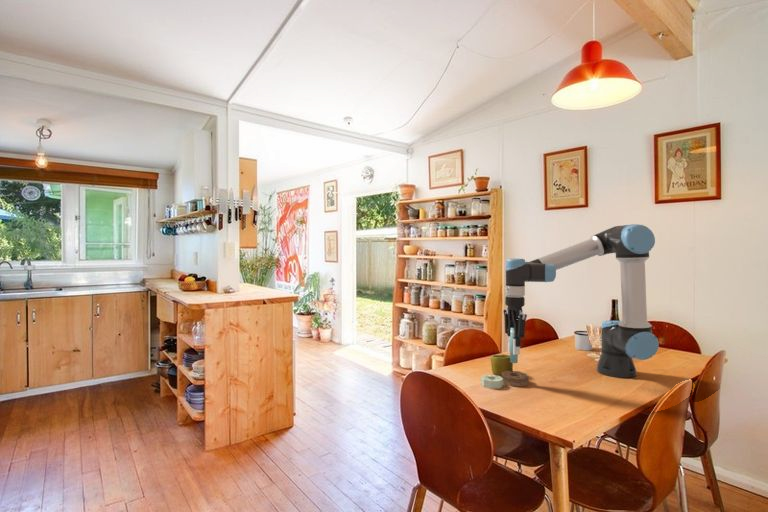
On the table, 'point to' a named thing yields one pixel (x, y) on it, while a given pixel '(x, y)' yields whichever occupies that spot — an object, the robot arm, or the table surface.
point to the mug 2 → (582, 341)
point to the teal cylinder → (512, 357)
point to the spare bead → (492, 381)
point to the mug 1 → (501, 364)
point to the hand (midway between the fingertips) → (514, 352)
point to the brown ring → (515, 378)
